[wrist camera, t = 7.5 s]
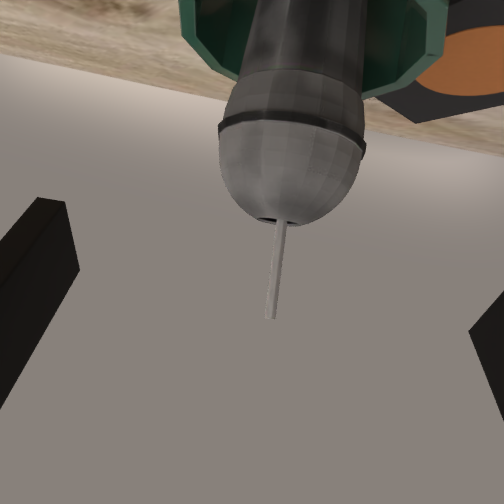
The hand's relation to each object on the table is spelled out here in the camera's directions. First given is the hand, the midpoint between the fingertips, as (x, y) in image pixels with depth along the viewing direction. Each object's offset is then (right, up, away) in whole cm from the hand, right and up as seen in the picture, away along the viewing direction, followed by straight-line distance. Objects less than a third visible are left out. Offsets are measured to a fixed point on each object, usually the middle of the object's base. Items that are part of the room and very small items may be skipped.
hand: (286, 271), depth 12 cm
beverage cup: (+3, +17, +8) cm, 19 cm away
